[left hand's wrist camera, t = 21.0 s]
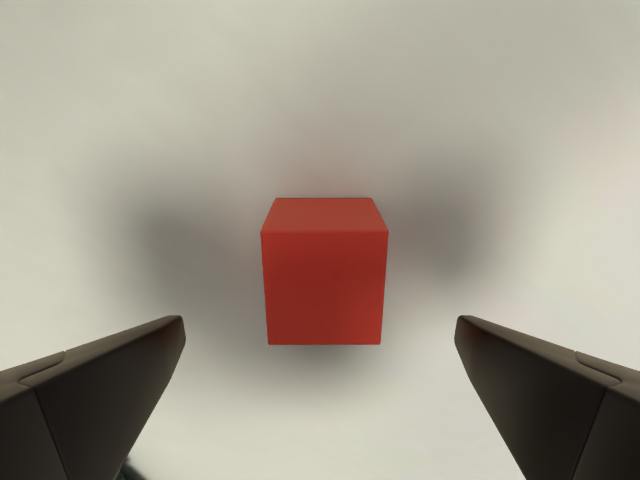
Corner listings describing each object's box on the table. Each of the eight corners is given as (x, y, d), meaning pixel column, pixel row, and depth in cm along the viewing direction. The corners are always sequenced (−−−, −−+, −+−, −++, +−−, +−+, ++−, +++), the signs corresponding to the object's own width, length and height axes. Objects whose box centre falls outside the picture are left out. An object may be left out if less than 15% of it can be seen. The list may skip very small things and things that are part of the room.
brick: (274, 198, 17) (259, 231, 13) (371, 197, 17) (388, 230, 13) (279, 290, 19) (268, 345, 15) (367, 290, 19) (380, 345, 15)
